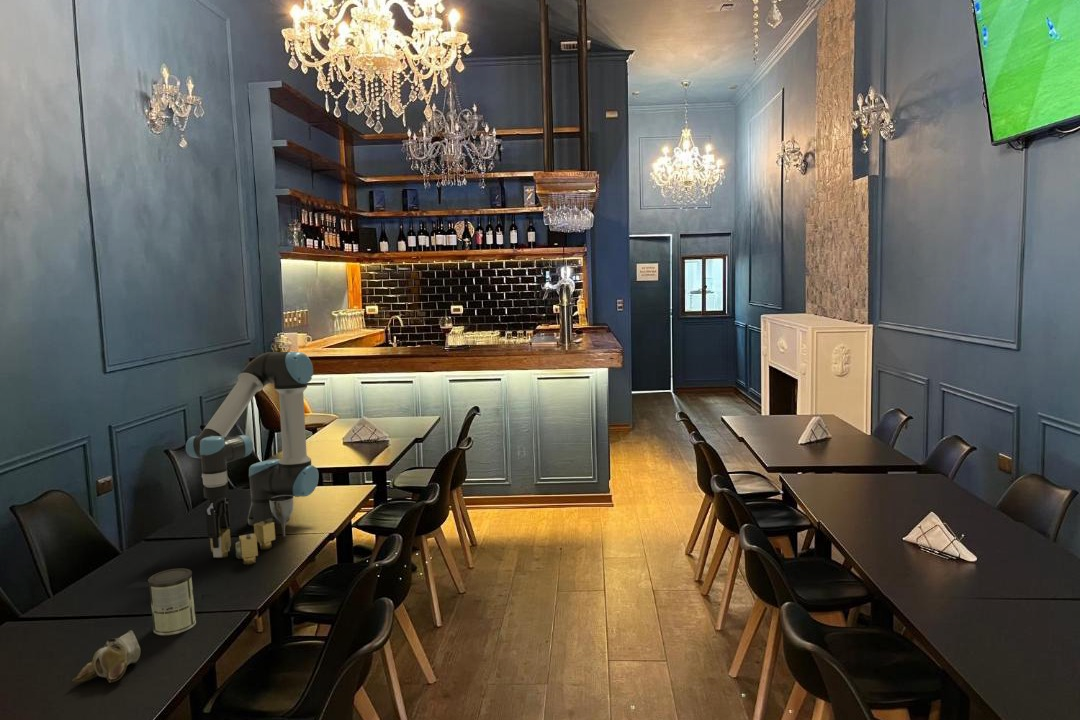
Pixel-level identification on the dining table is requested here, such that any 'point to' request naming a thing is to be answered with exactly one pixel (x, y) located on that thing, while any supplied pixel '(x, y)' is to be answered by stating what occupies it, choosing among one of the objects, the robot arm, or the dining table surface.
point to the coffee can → (172, 601)
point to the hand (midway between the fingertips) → (221, 553)
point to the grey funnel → (282, 508)
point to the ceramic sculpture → (112, 659)
